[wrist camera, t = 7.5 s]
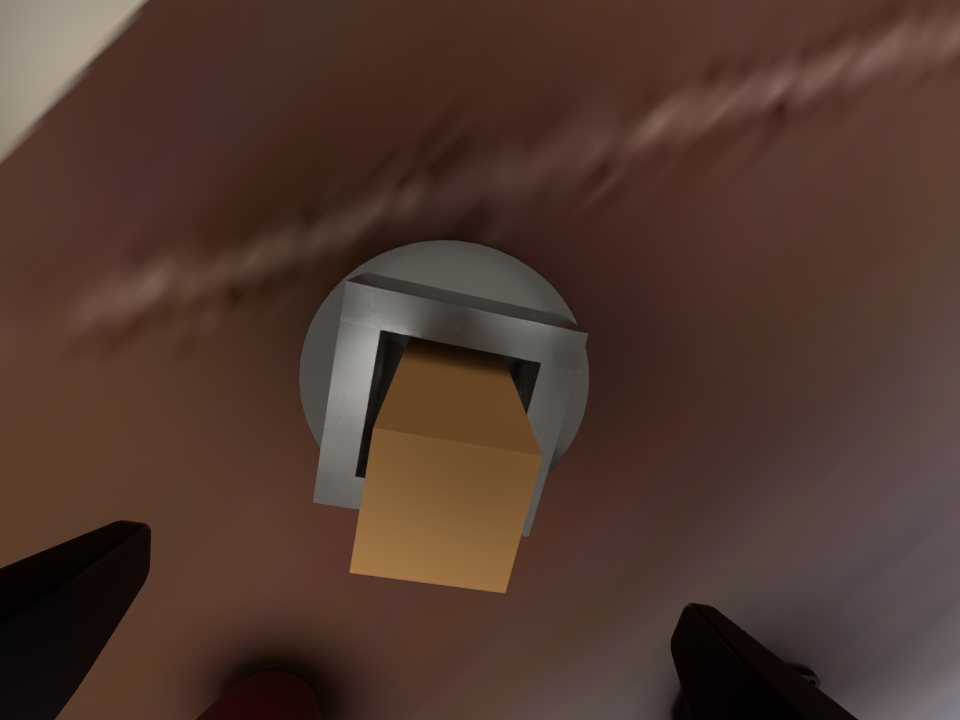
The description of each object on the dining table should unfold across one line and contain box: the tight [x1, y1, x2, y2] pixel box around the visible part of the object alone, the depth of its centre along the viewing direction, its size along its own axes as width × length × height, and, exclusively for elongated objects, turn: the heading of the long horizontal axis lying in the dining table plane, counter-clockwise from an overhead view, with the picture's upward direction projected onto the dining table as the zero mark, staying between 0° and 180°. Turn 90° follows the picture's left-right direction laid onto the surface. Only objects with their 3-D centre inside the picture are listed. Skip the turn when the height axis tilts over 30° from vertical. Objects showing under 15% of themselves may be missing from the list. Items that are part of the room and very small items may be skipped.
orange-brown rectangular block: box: [350, 337, 543, 593], centre depth 13 cm, size 4×4×8 cm
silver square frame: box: [299, 240, 589, 537], centre depth 16 cm, size 11×11×4 cm
